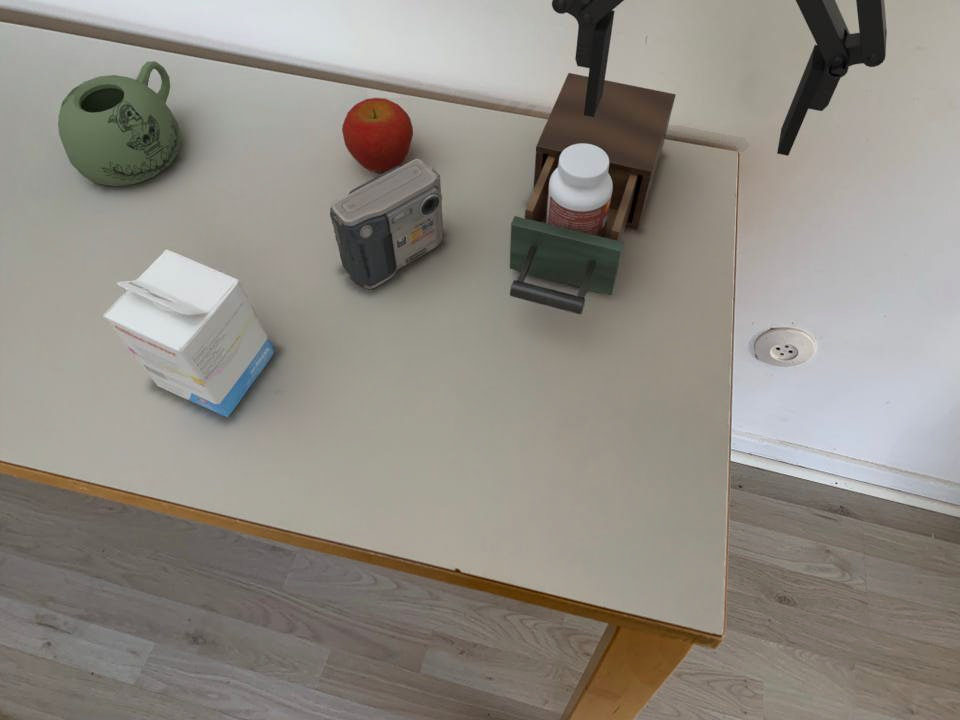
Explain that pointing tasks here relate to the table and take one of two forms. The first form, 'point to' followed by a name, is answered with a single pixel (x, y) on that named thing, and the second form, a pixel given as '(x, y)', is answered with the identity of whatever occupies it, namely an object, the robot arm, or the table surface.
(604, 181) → the pill bottle
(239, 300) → the ink box
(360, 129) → the apple
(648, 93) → the cabinet
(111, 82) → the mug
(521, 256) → the drawer
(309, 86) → the table surface
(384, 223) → the camera
